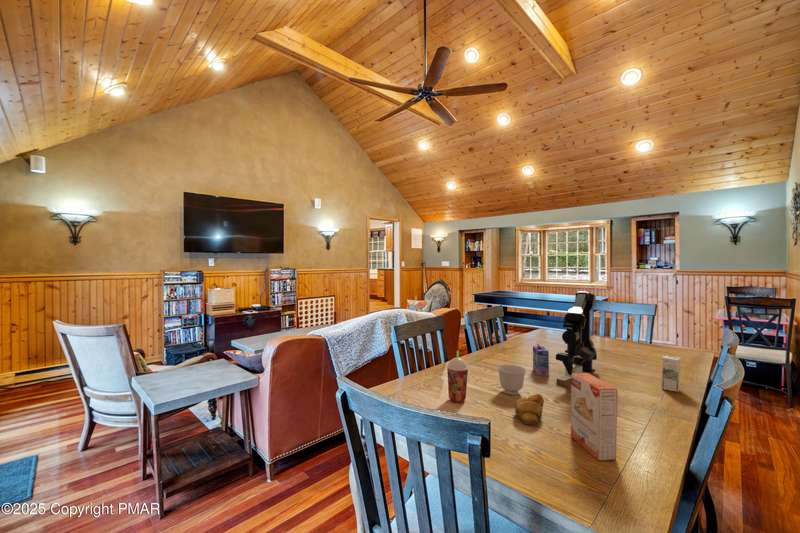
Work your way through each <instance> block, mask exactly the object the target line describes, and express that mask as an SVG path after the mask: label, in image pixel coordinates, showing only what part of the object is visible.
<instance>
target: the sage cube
mask: <svg viewBox="0 0 800 533" xmlns="http://www.w3.org/2000/svg"><path fill="white" fill-rule="evenodd" d="M582 368H583V366H580V365H577V364H573V368H572V373H583V371H582ZM564 369H565V372H564V373H565V375H564V376H568V377H571V378H572V375H569V374H568V372H567V370H566V368H565V367H564Z"/></svg>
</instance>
